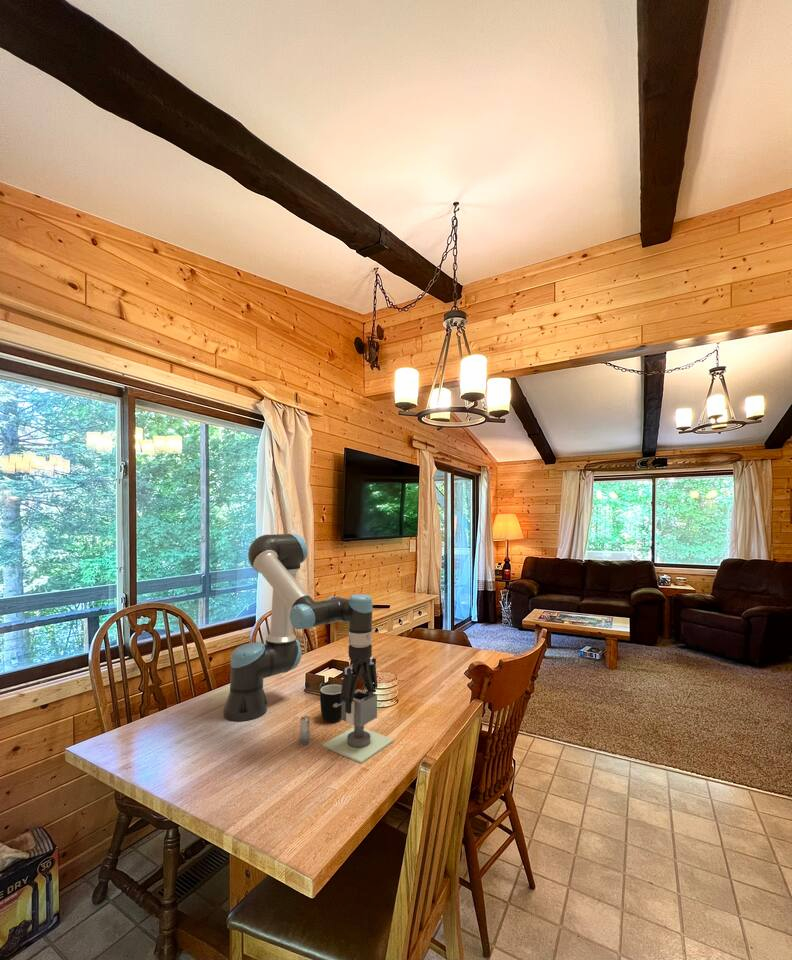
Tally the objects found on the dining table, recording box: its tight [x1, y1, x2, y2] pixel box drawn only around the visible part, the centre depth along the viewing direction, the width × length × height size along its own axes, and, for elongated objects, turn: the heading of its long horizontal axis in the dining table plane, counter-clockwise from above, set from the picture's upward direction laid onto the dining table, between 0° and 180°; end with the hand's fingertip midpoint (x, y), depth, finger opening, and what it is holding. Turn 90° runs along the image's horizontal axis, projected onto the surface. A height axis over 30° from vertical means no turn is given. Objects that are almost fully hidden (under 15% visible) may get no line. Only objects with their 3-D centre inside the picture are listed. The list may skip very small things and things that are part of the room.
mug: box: [319, 684, 342, 723], centre depth 156 cm, size 12×9×10 cm
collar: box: [340, 688, 378, 727], centre depth 138 cm, size 8×8×7 cm
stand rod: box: [299, 715, 311, 746], centre depth 138 cm, size 3×3×8 cm
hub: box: [322, 724, 395, 765], centre depth 138 cm, size 16×16×9 cm
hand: (359, 717), depth 138 cm, fingers closed on collar, 8 cm apart
